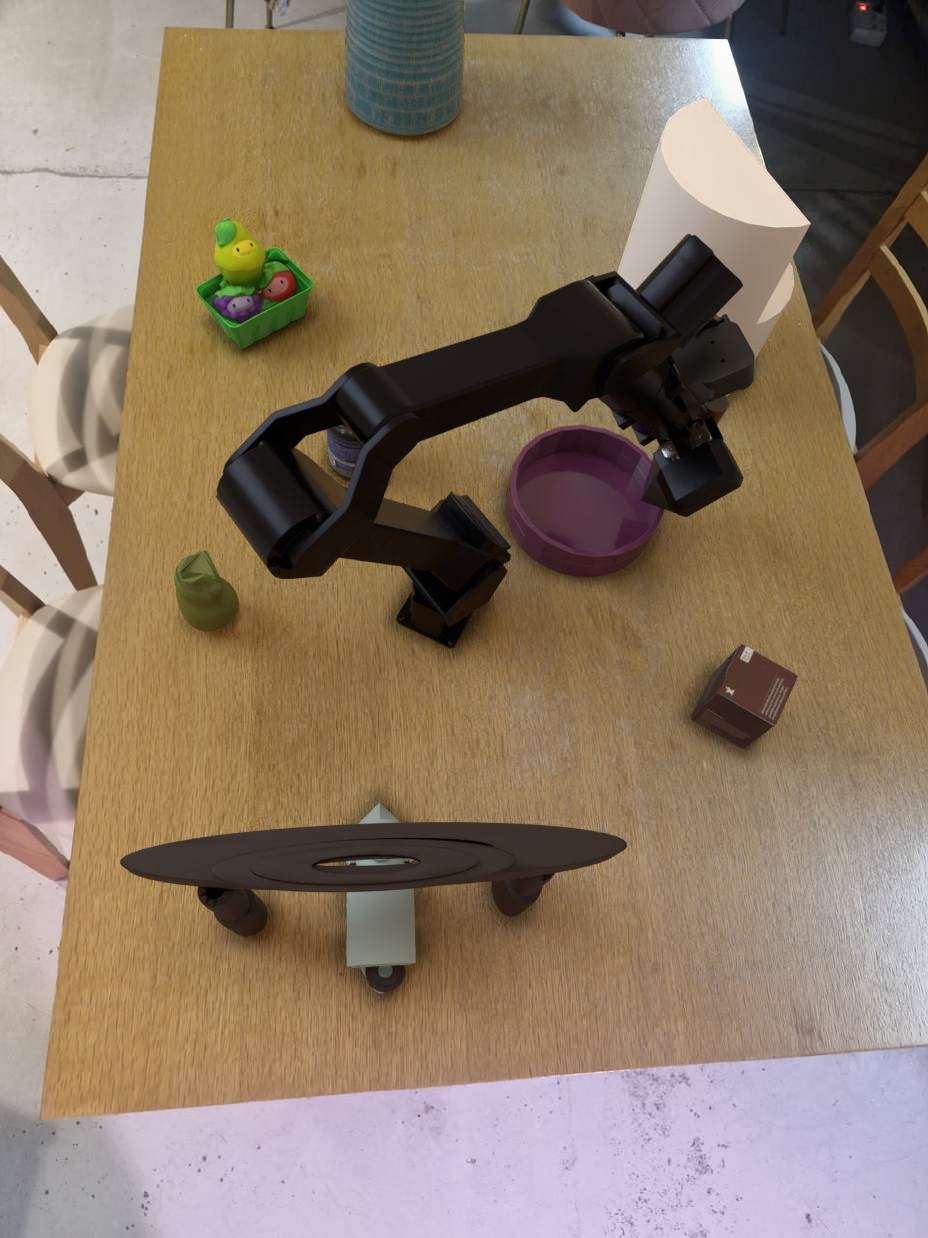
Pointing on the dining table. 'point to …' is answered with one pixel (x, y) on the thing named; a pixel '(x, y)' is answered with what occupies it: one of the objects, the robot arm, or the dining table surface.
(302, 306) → the fruit basket
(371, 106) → the vase
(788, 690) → the box
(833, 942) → the dining table surface
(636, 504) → the bowl
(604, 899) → the dining table surface
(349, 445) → the pill bottle
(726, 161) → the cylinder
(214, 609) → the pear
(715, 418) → the hammer
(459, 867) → the round plant dolly
